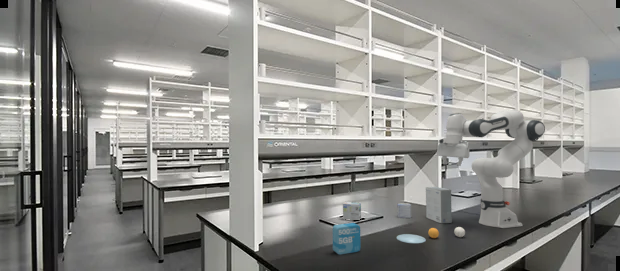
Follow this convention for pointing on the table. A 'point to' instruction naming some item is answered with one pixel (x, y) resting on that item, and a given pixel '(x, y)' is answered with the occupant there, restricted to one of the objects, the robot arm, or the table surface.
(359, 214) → the light bulb box
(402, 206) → the medicine box
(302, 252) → the table surface
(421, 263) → the table surface
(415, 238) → the blue mark
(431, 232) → the orange ball
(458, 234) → the white ball
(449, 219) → the hard drive box
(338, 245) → the data package
